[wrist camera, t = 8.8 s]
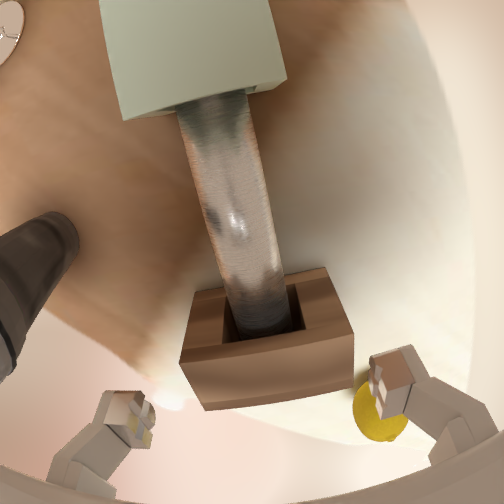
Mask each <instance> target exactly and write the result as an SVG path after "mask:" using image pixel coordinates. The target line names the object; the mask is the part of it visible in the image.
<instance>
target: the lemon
mask: <svg viewBox="0 0 504 504" xmlns="http://www.w3.org/2000/svg"><path fill="white" fill-rule="evenodd" d="M376 399H377V398H375V397H374V396H372V394H371V391H370V387H369V382H368V381H367V382H365V383H364V384H363V385H362V386H361V387H360V388H359V389H358V390H357V392H356V394H355V396H354V400H353V415H354V419H355V422H356V424H357V426H358V428H359V429H360V431H361V432H362V433H363V434H364V435H365V436H366V437H367V438H369V439H371V440H374V441H378V442H384V441H388V442H392V441H394V440H395V438H396V437H397V436H398V435H399V434H400V433H401V432H402V431H403V430H404V428H405V427H406V425H407V423H408V418H407V417H405V416H404V415H403V414H400V415H397V416H394V417H390V418H387V419H383V420H380V417H379V414H378V411H377V408H376Z"/></svg>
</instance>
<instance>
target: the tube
mask: <svg viewBox="0 0 504 504" xmlns="http://www.w3.org/2000/svg"><path fill="white" fill-rule="evenodd" d="M175 110H176V115H177V119H178V122H179V126H180V130H181V134H182V138H183V142H184V146H185V150H186V154H187V157H188V161H189V165H190V169H191V172H192V176H193V180H194V183H195V187H196V191H197V194H198V198H199V202H200V205H201V209H202V212H203V216H204V219H205V223H206V226H207V230H208V233H209V237H210V240H211V244H212V247H213V251H214V254H215V257H216V261H217V264H218V267H219V271H220V274H221V277H222V281H223V284H224V287H225V291H226V294H227V297H228V300H229V303H230V307H231V310H232V313H233V316H234V319H235V323H236V326H237V329H238V332H239V335H240V338H241V341H246V340H252V339H258V338H264V337H269V336H275V335H280V334H286V333H291V332H294V329H293V324H292V318H291V312H290V307H289V301H288V296H287V290H286V285H285V279H284V274H283V269H282V263H281V258H280V253H279V248H278V243H277V237H276V232H275V227H274V222H273V217H272V212H271V207H270V202H269V197H268V192H267V187H266V183H265V178H264V173H263V168H262V163H261V159H260V154H259V149H258V145H257V140H256V135H255V131H254V126H253V122H252V117H251V113H250V108H249V104H248V99H247V95H246V91H245V89H244V88H242V89H237V90H232V91H228V92H223V93H219V94H215V95H211V96H207V97H203V98H199V99H195V100H192V101H188V102H184V103H181V104H177V105H175Z"/></svg>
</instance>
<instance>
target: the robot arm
mask: <svg viewBox="0 0 504 504" xmlns="http://www.w3.org/2000/svg"><path fill="white" fill-rule="evenodd" d="M369 364H370V367H371V369H370V370H369V371H368V382H369V387H370V391H371V394H372V396H374V397H375V398H377V399H376V408H377V411H378V414H379V417H380V420H383V419H387V418H390V417H394V416H397V415H400V414H403V415H404V416H405V417H407V418H408V419H409V420H410V421H412V422H413V423H414V424H416V425H417V426H418V427H419V428H421V429H422V430H423V431H425V432H426V433H427V434H428V435H430V436H431V437H432V438H434V439H435V440H436V441H437V442H436V444H435V445H434V447H433V448H432V450H431V451H430V453H429V455H428V457H429V460H430V463H431V466H430V467H428V468H425V469H423V470H420V471H417V472H415V473H412V474H410V475H407V476H404V477H401V478H398V479H395V480H392V481H389V482H386V483H383V484H379V485H376V486H373V487H369V488H365V489H361V490H357V491H354V492H350V493H345V494H341V495H336V496H332V497H327V498H321V499H316V500H310V501H304V502H297V503H290V504H504V430H502V431H500V432H499V431H498V429H497V427H496V425H495V423H494V421H493V419H492V418H491V416H490V414H489V412H488V410H487V408H486V406H485V404H483V403H482V402H480V401H478V400H476V399H474V398H472V397H471V396H469V395H467V394H465V393H463V392H461V391H459V390H458V389H456V388H454V387H452V386H450V385H448V384H447V383H445V382H443V381H441V380H439V379H438V378H436V377H431V378H430V376H429V374H428V372H427V370H426V368H425V367H424V365H423V363H422V361H421V359H420V357H419V356H418V354H417V352H416V350H415V348H414V347H413V346H412V345H411V344H410V345H406V346H403V347H400V348H395V349H392V350H389V351H386V352H382V353H379V354H375V355H372V356H370V358H369ZM144 398H145V395H144V394H143V393H142V392H141V391H113V390H112V391H111V390H108V391H107V390H106V391H105V392H104V393H103V394H102V397H101V399H100V402H99V405H98V408H97V411H96V414H95V417H94V419H93V422H92V423H89V424H88V425H87V426H86V427H85V428H84V429H83V430H81V431H80V432H79V433H78V434H77V435H76V436H75V437H74V438H73V439H72V440H71V441H70V442H68V443H67V444H66V445H65V446H64V447H63V448H62V449H61V450H60V451H59V452H58V453H56V454H55V455H54V457H53V460H52V463H51V466H50V469H49V472H48V476H47V479H46V481H43V480H41V479H37V478H35V477H32V476H29V475H27V474H24V473H21V472H19V471H16V470H14V469H12V468H9V467H7V466H5V465H2V464H0V504H143V503H135V502H129V501H123V500H117V499H115V496H116V488H115V487H114V486H113V485H111V484H110V483H108V482H107V480H108V479H109V477H110V476H111V475H112V473H113V472H114V471H115V470H116V468H117V467H118V466H119V465H120V463H121V462H122V461H123V459H124V458H125V457H126V456H127V454H128V453H129V452H130V450H131V449H130V448H136V449H150V445H151V441H152V433H151V431H150V429H151V428H152V427H153V426H154V425H155V419H156V417H155V410H154V408H153V406H152V405H151V403H150V402H148V401H146V400H144Z"/></svg>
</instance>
